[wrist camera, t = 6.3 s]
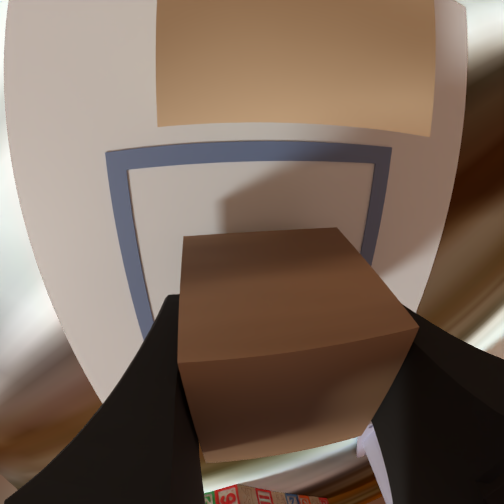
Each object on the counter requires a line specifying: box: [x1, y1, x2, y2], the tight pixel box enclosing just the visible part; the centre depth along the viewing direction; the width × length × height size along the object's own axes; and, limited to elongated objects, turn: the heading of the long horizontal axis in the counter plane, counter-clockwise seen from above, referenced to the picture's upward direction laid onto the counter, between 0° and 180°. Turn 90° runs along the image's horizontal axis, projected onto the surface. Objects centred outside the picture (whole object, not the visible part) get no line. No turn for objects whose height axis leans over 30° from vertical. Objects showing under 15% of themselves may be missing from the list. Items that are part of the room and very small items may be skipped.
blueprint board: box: [4, 0, 467, 403], centre depth 11 cm, size 22×16×1 cm
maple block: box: [156, 0, 436, 137], centre depth 5 cm, size 4×4×4 cm
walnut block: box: [177, 227, 419, 463], centre depth 8 cm, size 4×4×4 cm
